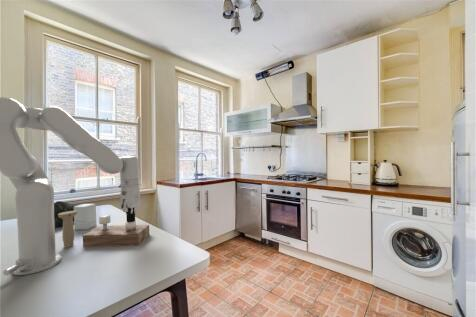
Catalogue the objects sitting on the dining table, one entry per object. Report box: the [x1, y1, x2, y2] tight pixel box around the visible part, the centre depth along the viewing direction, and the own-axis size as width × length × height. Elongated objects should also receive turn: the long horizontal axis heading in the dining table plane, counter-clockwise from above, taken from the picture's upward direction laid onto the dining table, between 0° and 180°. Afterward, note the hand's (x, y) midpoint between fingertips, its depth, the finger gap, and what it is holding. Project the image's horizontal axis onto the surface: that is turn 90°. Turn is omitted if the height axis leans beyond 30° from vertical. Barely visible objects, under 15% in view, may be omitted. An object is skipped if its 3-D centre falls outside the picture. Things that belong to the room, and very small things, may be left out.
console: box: [82, 224, 150, 248], centre depth 95 cm, size 12×24×5 cm, turn 91°
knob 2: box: [124, 219, 137, 231], centre depth 95 cm, size 4×4×8 cm
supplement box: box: [73, 203, 98, 231], centre depth 114 cm, size 7×7×13 cm
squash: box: [54, 200, 76, 228], centre depth 119 cm, size 14×15×15 cm
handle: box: [58, 211, 77, 248], centre depth 90 cm, size 5×6×15 cm
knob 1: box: [98, 214, 111, 231], centre depth 95 cm, size 4×4×8 cm
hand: (131, 221), depth 95 cm, fingers closed
